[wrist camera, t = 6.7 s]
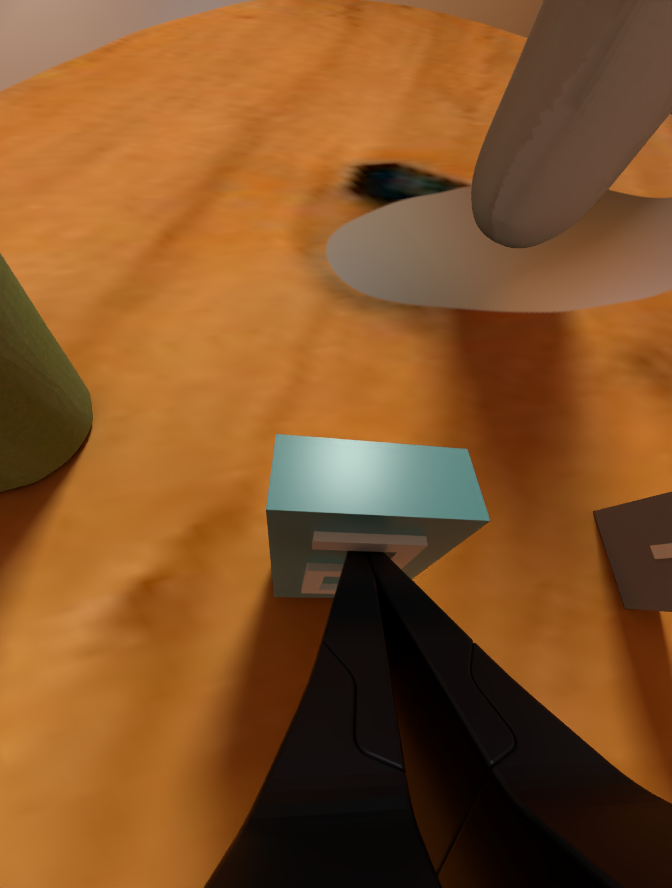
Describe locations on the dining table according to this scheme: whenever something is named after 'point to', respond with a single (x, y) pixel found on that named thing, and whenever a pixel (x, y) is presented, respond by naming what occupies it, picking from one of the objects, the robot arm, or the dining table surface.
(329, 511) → the tile
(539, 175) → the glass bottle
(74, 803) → the dining table surface
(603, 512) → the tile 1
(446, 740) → the robot arm
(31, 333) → the plant pot
